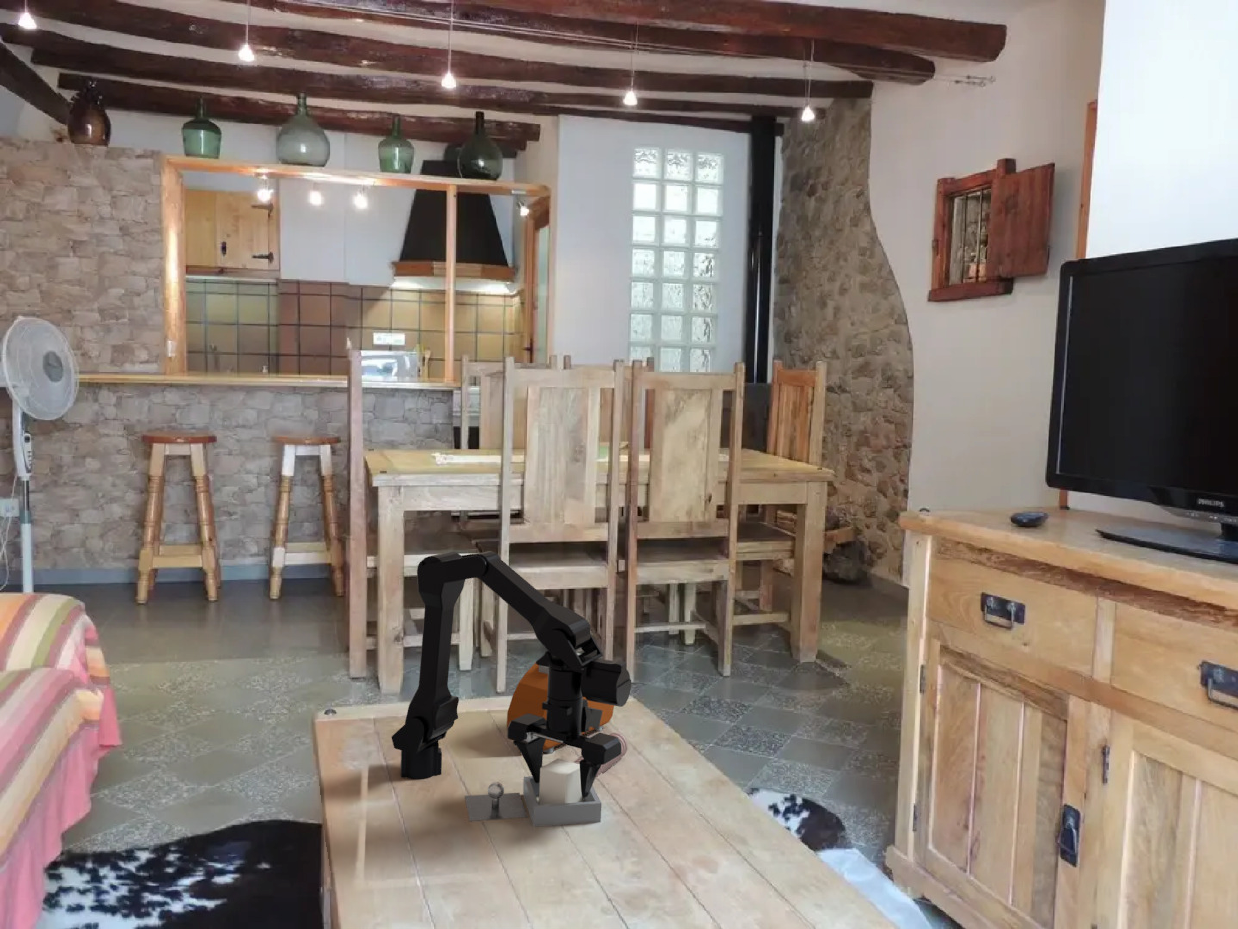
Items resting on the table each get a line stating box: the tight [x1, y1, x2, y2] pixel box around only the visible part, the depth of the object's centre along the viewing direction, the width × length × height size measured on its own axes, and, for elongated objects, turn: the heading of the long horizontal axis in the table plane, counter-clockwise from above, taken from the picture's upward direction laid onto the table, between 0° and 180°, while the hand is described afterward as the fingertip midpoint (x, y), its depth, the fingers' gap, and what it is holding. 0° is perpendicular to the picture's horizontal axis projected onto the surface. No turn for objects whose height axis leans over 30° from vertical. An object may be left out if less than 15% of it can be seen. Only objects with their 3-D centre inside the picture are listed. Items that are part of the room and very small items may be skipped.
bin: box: [522, 775, 602, 827], centre depth 153 cm, size 11×12×4 cm
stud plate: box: [464, 781, 528, 822], centre depth 152 cm, size 9×9×5 cm
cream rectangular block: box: [538, 757, 583, 805], centre depth 152 cm, size 5×5×7 cm
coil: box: [572, 732, 629, 779], centre depth 170 cm, size 5×5×18 cm
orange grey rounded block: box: [506, 652, 615, 754], centre depth 186 cm, size 23×9×17 cm, turn 144°
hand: (561, 789), depth 153 cm, fingers open, 9 cm apart
